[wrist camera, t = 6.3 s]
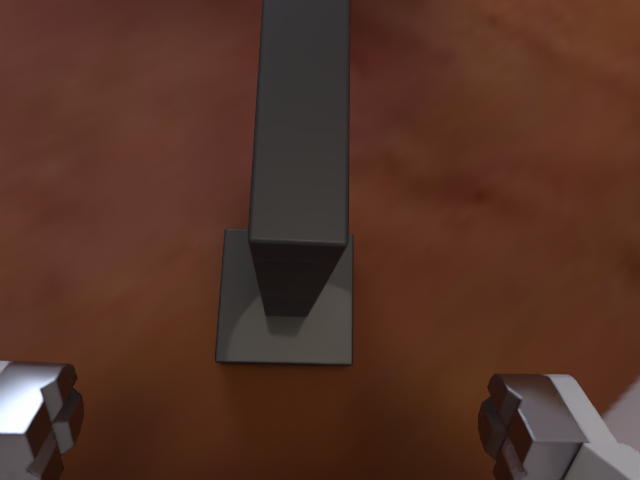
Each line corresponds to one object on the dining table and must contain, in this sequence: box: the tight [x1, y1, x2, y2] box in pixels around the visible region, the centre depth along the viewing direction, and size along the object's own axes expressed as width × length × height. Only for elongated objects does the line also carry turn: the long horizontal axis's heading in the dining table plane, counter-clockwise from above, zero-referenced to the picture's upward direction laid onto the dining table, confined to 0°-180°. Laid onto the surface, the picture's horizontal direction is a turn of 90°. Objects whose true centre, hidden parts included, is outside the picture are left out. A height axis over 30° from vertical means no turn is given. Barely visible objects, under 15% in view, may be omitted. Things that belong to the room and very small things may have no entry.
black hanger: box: [215, 0, 353, 366], centre depth 14 cm, size 7×5×12 cm
